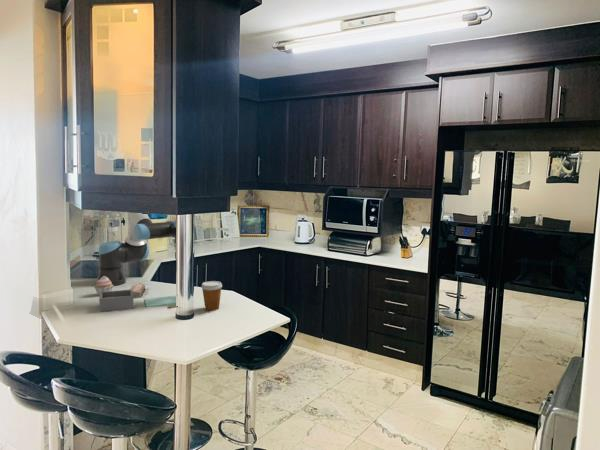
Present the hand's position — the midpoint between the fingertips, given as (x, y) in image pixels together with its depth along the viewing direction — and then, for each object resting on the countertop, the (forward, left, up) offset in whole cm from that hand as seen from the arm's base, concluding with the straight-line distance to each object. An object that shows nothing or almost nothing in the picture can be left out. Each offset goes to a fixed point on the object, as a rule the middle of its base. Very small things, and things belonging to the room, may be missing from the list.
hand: (184, 297), depth 221 cm
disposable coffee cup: (+16, +11, -2) cm, 19 cm away
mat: (0, -10, -2) cm, 11 cm away
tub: (+1, -30, -2) cm, 31 cm away
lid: (0, -8, -1) cm, 8 cm away
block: (-1, -33, -1) cm, 34 cm away
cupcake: (-26, -36, -2) cm, 45 cm away
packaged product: (-20, -21, -3) cm, 29 cm away
